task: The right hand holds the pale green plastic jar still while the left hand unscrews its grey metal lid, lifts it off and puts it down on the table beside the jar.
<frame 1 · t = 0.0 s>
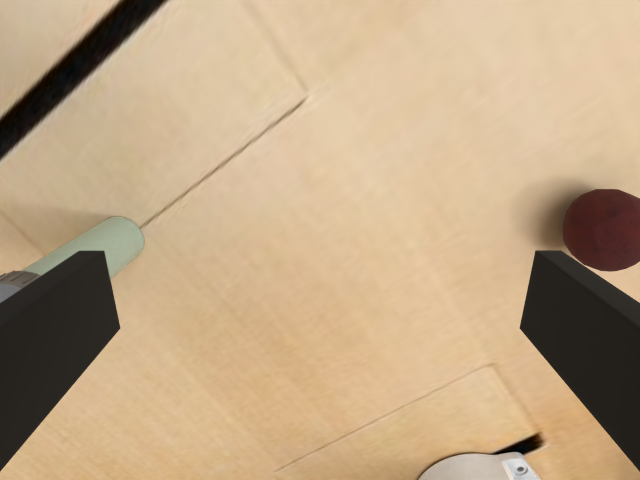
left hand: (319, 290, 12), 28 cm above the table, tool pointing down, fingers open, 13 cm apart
jar: (121, 238, 42), on the table
lid: (15, 317, 27), point 16 cm above the table, screwed on, not yet turned
dark red ball: (582, 217, 41), on the table
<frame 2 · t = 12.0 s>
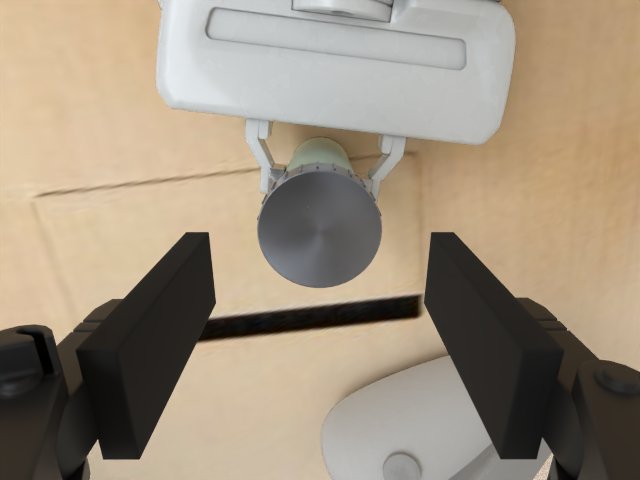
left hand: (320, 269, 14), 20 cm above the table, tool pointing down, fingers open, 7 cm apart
right hand: (318, 198, 27), fingers closed on jar, 5 cm apart
jar: (319, 167, 32), on the table, touching right hand
projector: (442, 402, 41), on the table
lid: (319, 229, 18), point 16 cm above the table, screwed on, not yet turned
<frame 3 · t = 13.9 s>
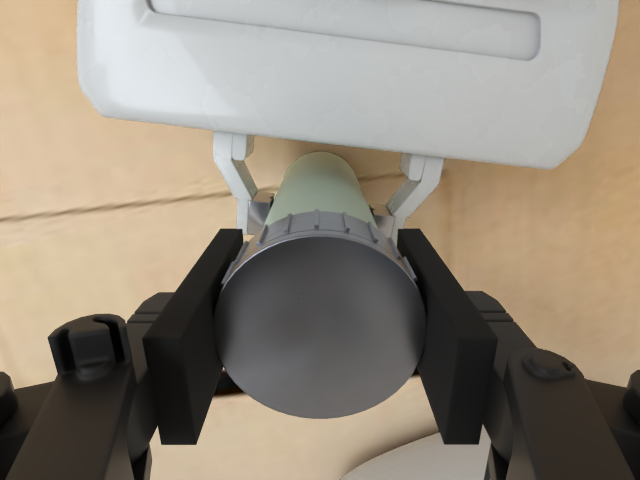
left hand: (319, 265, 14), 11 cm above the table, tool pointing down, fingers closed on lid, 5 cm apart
right hand: (318, 239, 19), fingers closed on jar, 5 cm apart
jar: (320, 189, 25), on the table, touching right hand
projector: (469, 471, 33), on the table
lid: (320, 328, 10), point 16 cm above the table, screwed on, not yet turned, touching left hand
when the left hand's fingers open (0 cm above the table, at t = 20.1 s): lid drops 3 cm, point 2 cm above the table.
when the right hand's fingers open (6 cm above the table, at t = 20.8 s): jar stays where it is, on the table.
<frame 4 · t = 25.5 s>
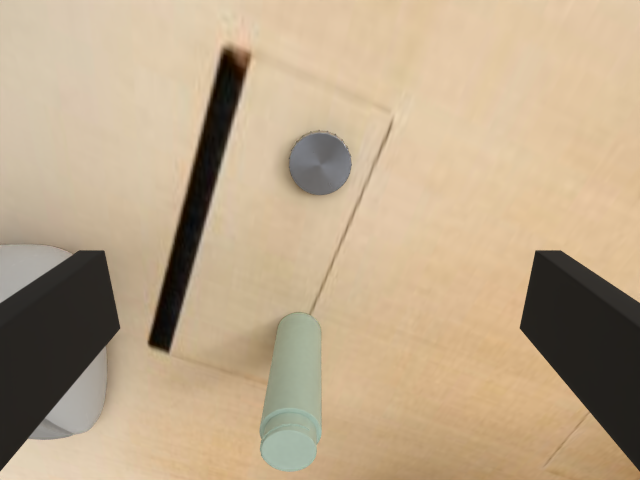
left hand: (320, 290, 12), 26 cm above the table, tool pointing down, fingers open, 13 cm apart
jar: (299, 331, 43), on the table
projector: (50, 331, 43), on the table
lid: (320, 164, 35), point 2 cm above the table, off its thread
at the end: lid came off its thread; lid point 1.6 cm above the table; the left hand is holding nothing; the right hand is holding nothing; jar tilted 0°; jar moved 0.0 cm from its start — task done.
